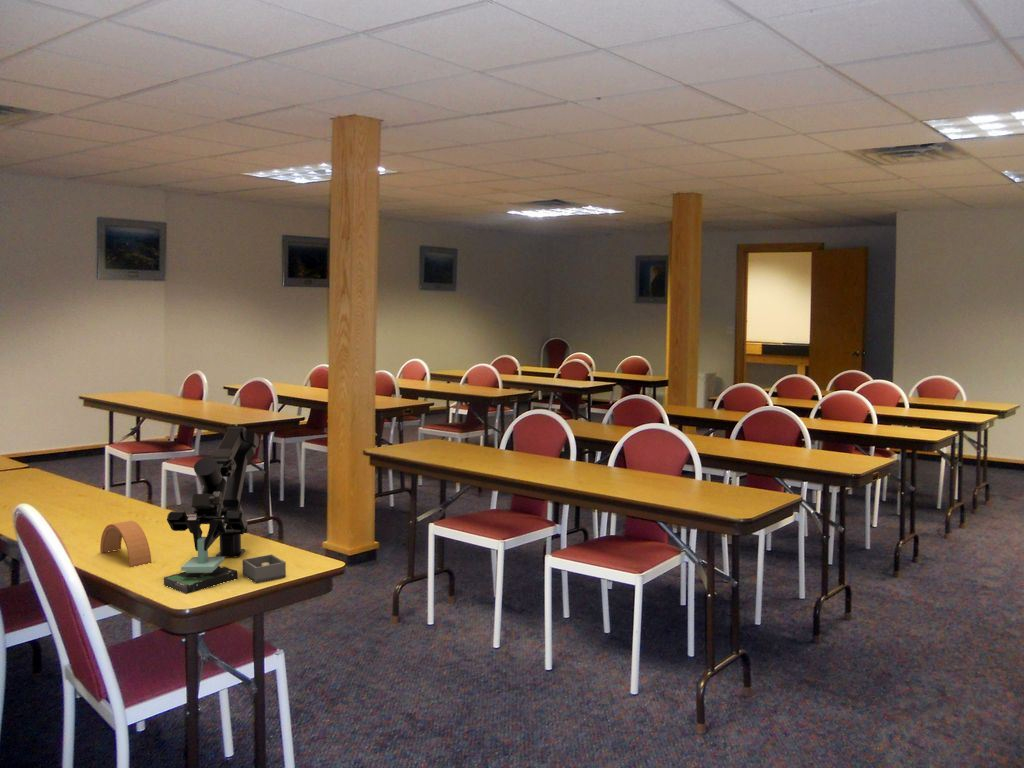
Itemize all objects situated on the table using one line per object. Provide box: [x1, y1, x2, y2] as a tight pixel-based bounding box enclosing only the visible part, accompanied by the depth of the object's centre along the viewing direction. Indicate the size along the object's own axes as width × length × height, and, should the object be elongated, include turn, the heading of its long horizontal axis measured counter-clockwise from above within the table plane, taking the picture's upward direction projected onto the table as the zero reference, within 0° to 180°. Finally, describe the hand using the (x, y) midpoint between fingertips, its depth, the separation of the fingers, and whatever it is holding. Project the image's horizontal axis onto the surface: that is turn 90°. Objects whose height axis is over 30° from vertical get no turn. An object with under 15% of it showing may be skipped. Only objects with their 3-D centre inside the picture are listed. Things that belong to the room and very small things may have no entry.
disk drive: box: [163, 565, 239, 595], centre depth 221 cm, size 10×3×15 cm
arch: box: [99, 520, 152, 568], centre depth 241 cm, size 6×20×10 cm, turn 46°
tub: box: [241, 554, 287, 584], centre depth 226 cm, size 9×8×4 cm
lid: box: [180, 536, 225, 573], centre depth 220 cm, size 9×8×8 cm
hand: (200, 550), depth 218 cm, fingers closed
